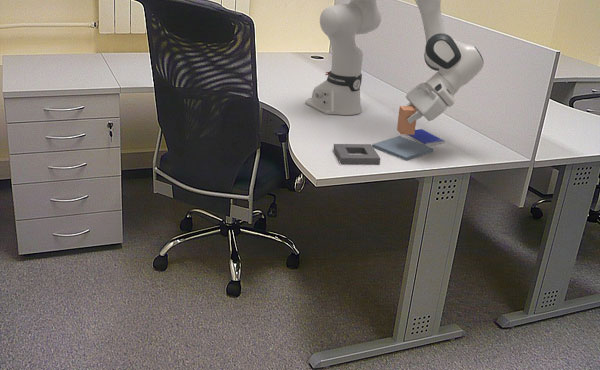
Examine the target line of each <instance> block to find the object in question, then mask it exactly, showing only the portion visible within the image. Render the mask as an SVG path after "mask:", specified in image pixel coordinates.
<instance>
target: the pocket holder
mask: <svg viewBox="0 0 600 370" xmlns="http://www.w3.org/2000/svg"><path fill="white" fill-rule="evenodd" d="M332 150H333V152H334V154H335V156H336V157H337V160H338V161H340V162H339V164H340V163H341V164H340V165H380V164H381V157H380V155H379V154H378V152H377V151H376V150H375V148H373V147H372V143H333V149H332Z"/></svg>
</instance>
